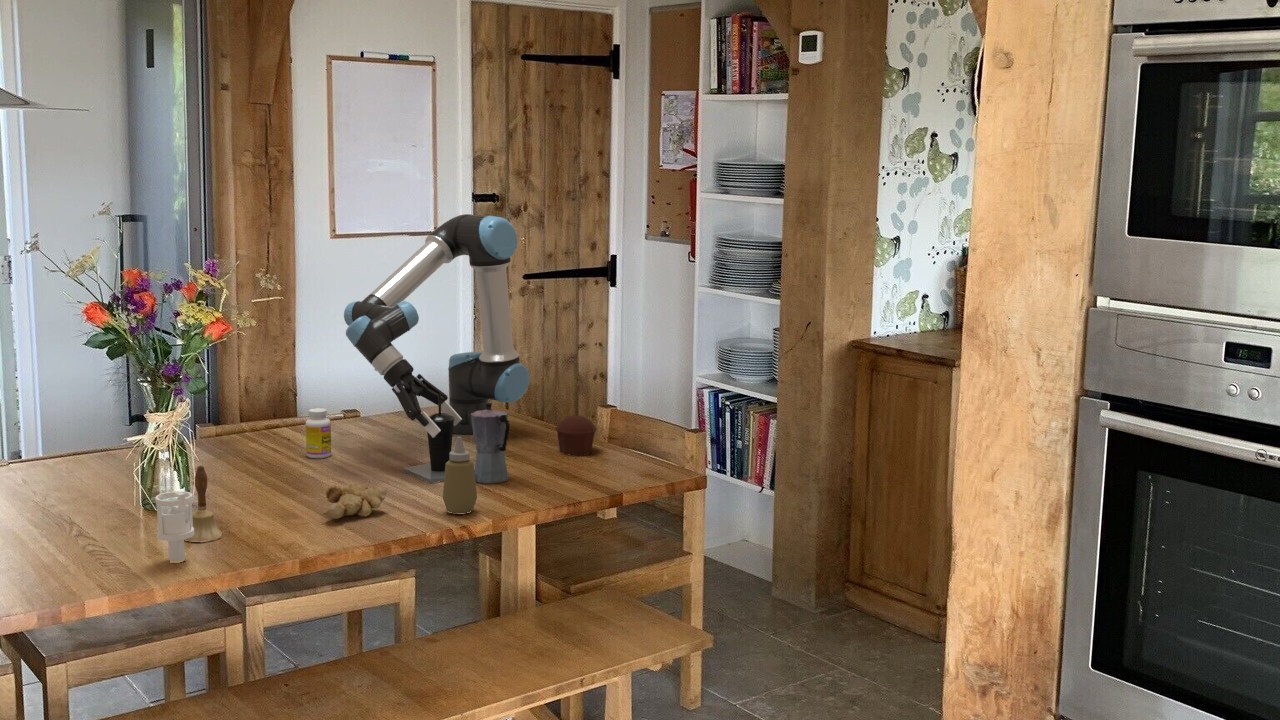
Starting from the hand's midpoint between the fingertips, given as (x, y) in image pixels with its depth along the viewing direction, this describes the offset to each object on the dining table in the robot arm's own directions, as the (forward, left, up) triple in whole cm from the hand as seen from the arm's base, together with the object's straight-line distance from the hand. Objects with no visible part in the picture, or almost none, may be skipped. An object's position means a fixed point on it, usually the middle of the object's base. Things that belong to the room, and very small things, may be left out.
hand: (447, 428), depth 323 cm
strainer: (+79, +24, -12) cm, 84 cm away
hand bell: (+69, +12, -12) cm, 71 cm away
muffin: (-41, +1, -12) cm, 43 cm away
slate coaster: (+1, -2, -12) cm, 12 cm away
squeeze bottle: (+15, +30, -12) cm, 36 cm away
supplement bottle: (+18, -37, -12) cm, 43 cm away
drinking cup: (+1, -2, -11) cm, 12 cm away
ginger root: (+36, +15, -13) cm, 41 cm away
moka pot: (-6, +12, -12) cm, 18 cm away
